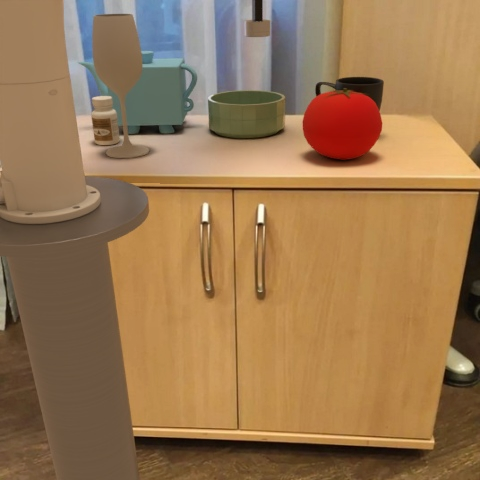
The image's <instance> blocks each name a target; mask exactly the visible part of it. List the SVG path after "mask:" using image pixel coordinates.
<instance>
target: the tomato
mask: <svg viewBox="0 0 480 480" xmlns="http://www.w3.org/2000/svg"><path fill="white" fill-rule="evenodd" d="M369 95H370V94H369ZM301 123H302V132H303V136H304V138H305V140H306V142H307V144H308V145H309V146H310V148H312V149H313V150H314V151H315V152H316V153H318V154H319V155H321V156H324V157H326V158H330V159H335V160H341V161H342V160H343V161H347V160H352V159H356V158H359V157H362V156H363V155H365V154H367V153H368V152H369V151H371V149H372V148H373V147H374V146H375V144H376V143H377V141H378V140H379V138H380V136H381V133H382V131H383V120H382V115H381V111H380V112H379V109H378V107H377V105H376V103H375V102H374V101H373V100H372V99H371V98H370V97H368V96H366V95H364V93H358V92H353V90H347V88H343V91H337V90H335V89H334V90H331V91H327V92H323V93H322V92H321V94H320V95H318V96H317V97H316V96H315V97H313V98H312V100H311V101H310V102H309V104H307V107H306V109H305V111H304V114H303V118H302V121H301Z"/></svg>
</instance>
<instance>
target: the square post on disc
mask: <svg viewBox="0 0 480 480" xmlns="http://www.w3.org/2000/svg"><path fill="white" fill-rule="evenodd" d="M263 4H264V2H263V0H251V13H252V14H251V19H245V20H244V37H246V38H266V37H271V20H270V19H264V16H263V15H264V14H263V12H264V11H263V9H264V8H263V7H264V5H263Z"/></svg>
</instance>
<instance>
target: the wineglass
mask: <svg viewBox="0 0 480 480" xmlns="http://www.w3.org/2000/svg"><path fill="white" fill-rule="evenodd" d="M92 17H93V18H92V32H91V33H92V34H91V35H92V39H91V41H92V63H94V67H95V71H96V73H97V75H98V77H99V79H100V80H101V81H102V82H103V83H104V84H105V85H106V86H107V87H108V88H109V89H111V90H112V91H113V92H114V93H116V94H117V96H118V97H119V100H120V104H121V114H122V123H123V126H122V131H123V142H122V143H121V145H119V146H114V147H111V148H109V149H107V150H106V152H105V154H106V156H107V157H110V158H113V159H114V158H115V159H133V158H139V157H143V156H145V155H147V154H149V153H150V148H148V147H147V146H144V145H137V144H132V142H131V141H130V136H129V134H128V128H127V119H126V109H125V97H126V94H127V93H128V92H129V91H130V90H131V89H132V87H133V86H134V85H135V84H136V83H137V81H138V79H139V78H140V76H141V72H142V53H141V51H142V47H141V43H140V38H139V33H138V29H137V25H136V22H135V17H134V14H132V13H103V14H101V13H100V14H94V15H93V16H92Z"/></svg>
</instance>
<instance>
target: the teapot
mask: <svg viewBox="0 0 480 480" xmlns="http://www.w3.org/2000/svg"><path fill="white" fill-rule="evenodd" d="M141 53H142V72H141V76H140V78H139V79H138V81H137V83H136V84H135V85H134V86H133V87H132V89H131V90H130V91H129V92H128V93H127V94H126V97H125V109H126V119H127V128H128V135H133V134H138V133H140V129H141V126H158V130H159V133H161V134H173V133H175V129H174V127H173V126H182V125H183V124H184V121H185V120H186V116H187V114H188V113H189V112H191V111H192V110H193V109H194V107H195V103H194V101H193V99H191V98H190V95H191V94H192V92H193V91H194V89H195V87H196V85H197V82H198V74H197V71H196V70H195V69H194V67H192V66H191V65H190V64H188V63H185V57H176V58H174V57H173V58H154V55H155V52H154V51H153V50H141ZM77 64H78V65H81V66H83V67H84V68H86V69H87V70H88V71H89V72H90V74H91V76H92V77H93V79H94V81H95V85H96V87H97V90H98V92H99V94H100V96H111V97H112V100H113V106H112V109H114V110H115V111H116V112H117V120H118V127H120V126H121V127H123V123H122V114H121V104H120V100H119V97H118V96H117V94H116V93H114V92H113V91H112V90H111V89H109V88H108V87H107V86H106V85H105V84H104V83H103V82H102V81H101V80H100V79H99V77H98V75H97V73H96V71H95V67H94V62H93V61H78V62H77ZM186 71H187V72H189V73H190V74H191V81H190V84H189V85H188V87H187V81H186ZM188 104H189V105H188Z"/></svg>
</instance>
